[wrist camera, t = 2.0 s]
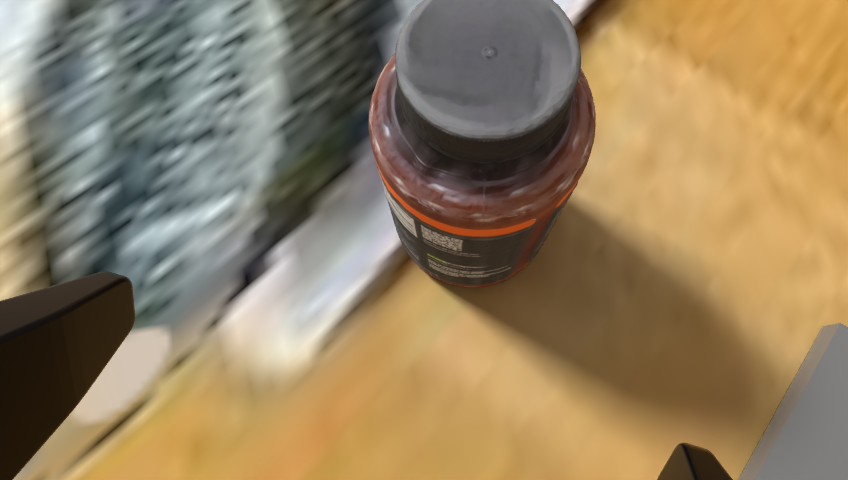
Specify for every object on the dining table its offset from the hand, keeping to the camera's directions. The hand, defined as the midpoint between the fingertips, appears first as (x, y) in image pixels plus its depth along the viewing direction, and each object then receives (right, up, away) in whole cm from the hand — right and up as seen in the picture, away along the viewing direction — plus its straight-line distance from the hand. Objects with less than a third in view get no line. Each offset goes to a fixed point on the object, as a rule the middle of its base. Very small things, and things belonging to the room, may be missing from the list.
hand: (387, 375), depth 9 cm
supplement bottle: (+2, +3, +14) cm, 15 cm away
